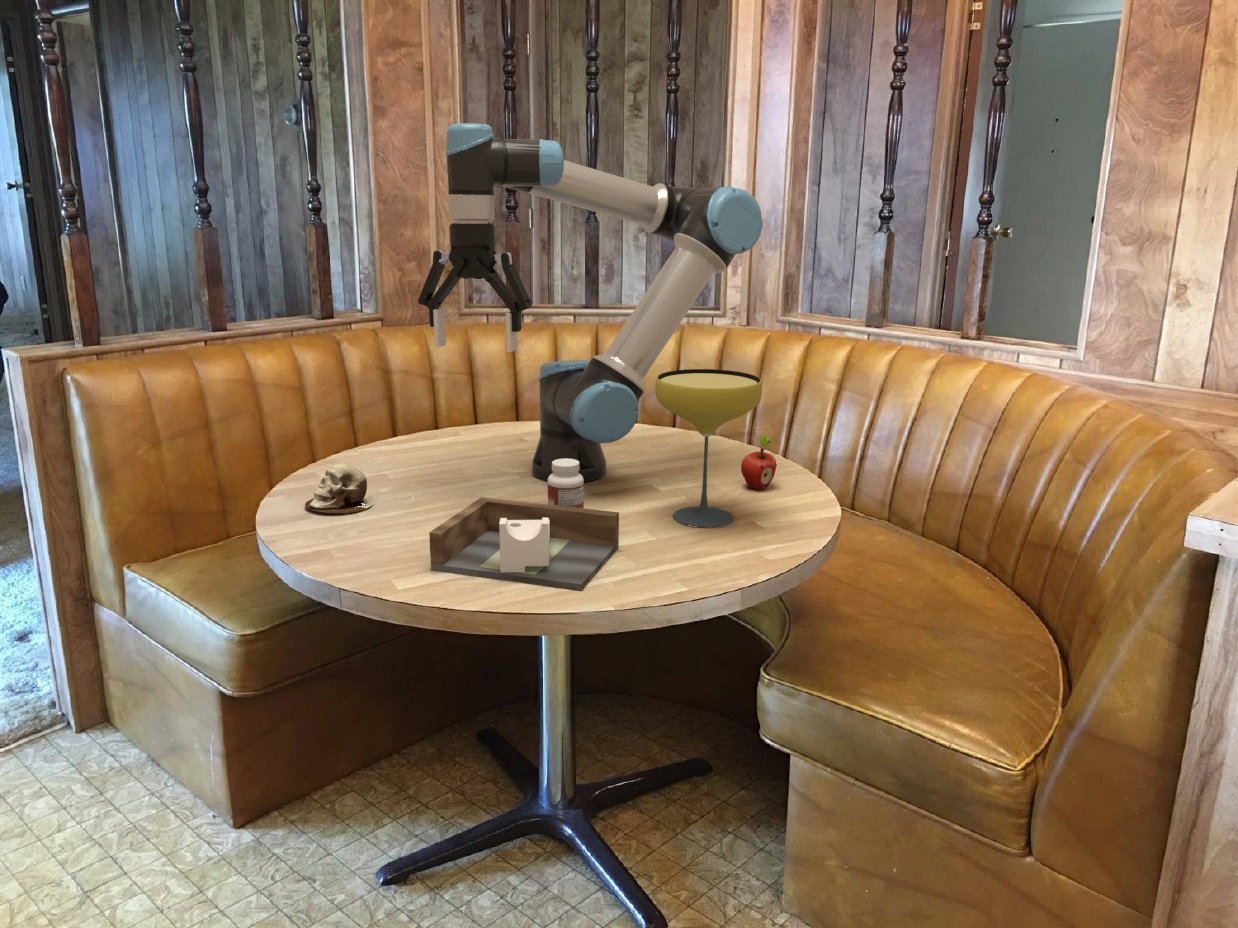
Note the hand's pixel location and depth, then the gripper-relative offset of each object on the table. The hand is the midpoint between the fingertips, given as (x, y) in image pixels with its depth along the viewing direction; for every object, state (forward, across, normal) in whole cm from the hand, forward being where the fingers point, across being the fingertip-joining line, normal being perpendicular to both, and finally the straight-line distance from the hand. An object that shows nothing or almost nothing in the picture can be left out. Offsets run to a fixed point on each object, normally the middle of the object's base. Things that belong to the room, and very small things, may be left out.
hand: (475, 348), depth 161 cm
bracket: (+28, -18, +23) cm, 40 cm away
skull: (+29, +24, +8) cm, 39 cm away
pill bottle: (+29, -18, +4) cm, 34 cm away
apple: (+29, -46, -28) cm, 61 cm away
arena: (+29, -18, +21) cm, 40 cm away
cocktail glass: (+29, -40, -7) cm, 50 cm away
